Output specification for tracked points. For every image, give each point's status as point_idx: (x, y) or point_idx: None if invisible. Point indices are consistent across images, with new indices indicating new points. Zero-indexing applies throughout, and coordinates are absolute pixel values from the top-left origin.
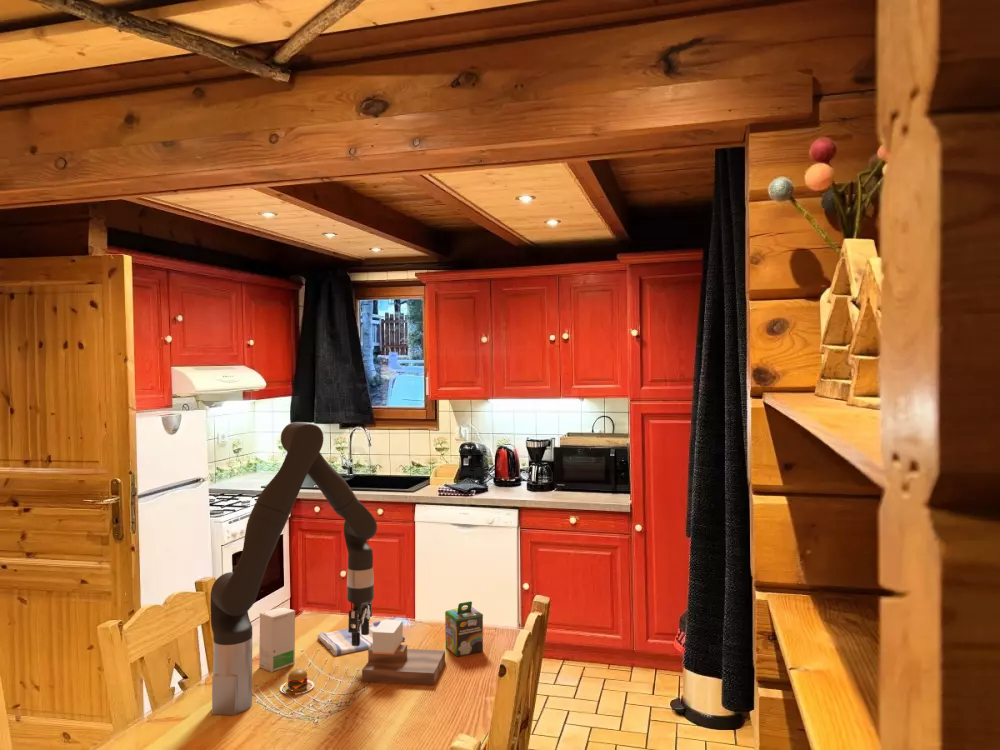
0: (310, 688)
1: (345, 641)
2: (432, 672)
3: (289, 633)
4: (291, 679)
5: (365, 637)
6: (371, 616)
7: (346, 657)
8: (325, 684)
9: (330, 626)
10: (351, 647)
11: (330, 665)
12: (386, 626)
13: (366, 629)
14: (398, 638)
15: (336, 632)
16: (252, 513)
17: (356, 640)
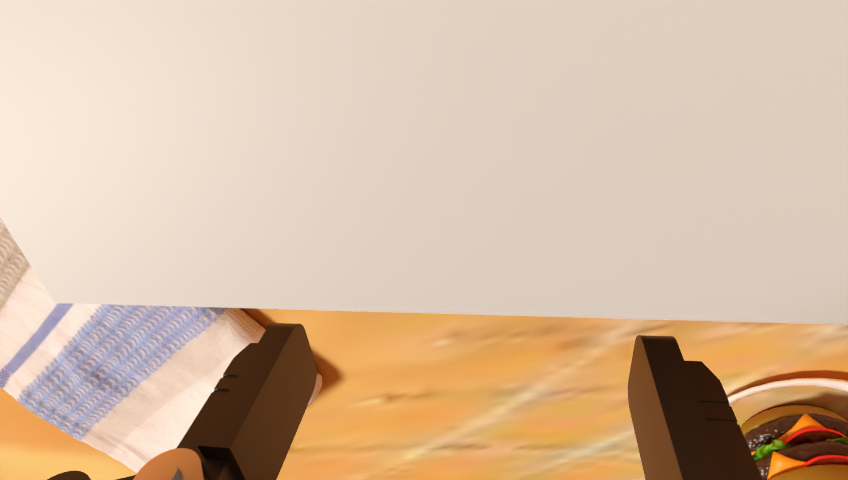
0: (814, 385)
1: (163, 381)
2: None
3: None
4: None
5: (43, 304)
6: (70, 475)
7: (323, 323)
8: (750, 328)
9: (38, 458)
10: (220, 337)
11: (455, 368)
12: (401, 92)
13: (280, 383)
14: None
15: (101, 439)
16: None
17: (731, 418)
